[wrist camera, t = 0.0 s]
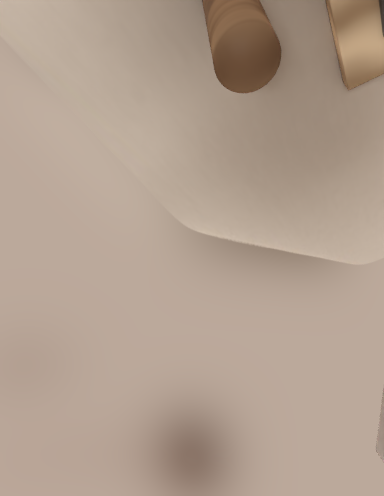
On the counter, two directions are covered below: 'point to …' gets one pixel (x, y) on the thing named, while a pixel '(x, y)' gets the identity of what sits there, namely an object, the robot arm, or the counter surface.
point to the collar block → (358, 38)
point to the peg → (241, 44)
